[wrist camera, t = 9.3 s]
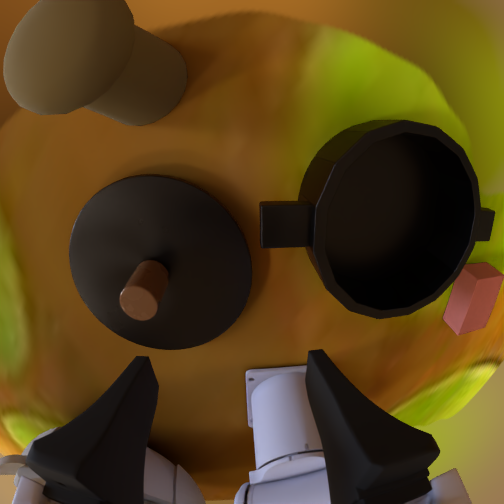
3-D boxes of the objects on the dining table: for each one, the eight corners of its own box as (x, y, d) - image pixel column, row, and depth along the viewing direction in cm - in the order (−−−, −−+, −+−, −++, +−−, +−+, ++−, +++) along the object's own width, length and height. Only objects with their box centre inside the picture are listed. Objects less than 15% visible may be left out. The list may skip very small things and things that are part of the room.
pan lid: (252, 339, 23) (256, 382, 19) (100, 337, 22) (81, 374, 18) (249, 166, 18) (253, 177, 13) (62, 184, 17) (22, 201, 13)
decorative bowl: (258, 420, 28) (269, 544, 14) (206, 494, 38) (205, 559, 24) (7, 341, 23) (-53, 432, 9) (51, 449, 33) (31, 509, 19)
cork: (206, 85, 15) (165, 22, 5) (131, 144, 17) (20, 168, 6) (155, 24, 13) (81, -60, 3) (85, 82, 14) (-32, 62, 4)
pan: (449, 277, 22) (478, 301, 18) (257, 292, 21) (262, 330, 17) (471, 140, 17) (508, 147, 13) (254, 113, 16) (260, 106, 12)
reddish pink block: (470, 312, 24) (485, 327, 21) (442, 318, 24) (457, 335, 21) (486, 261, 22) (504, 275, 19) (458, 264, 22) (478, 279, 19)
